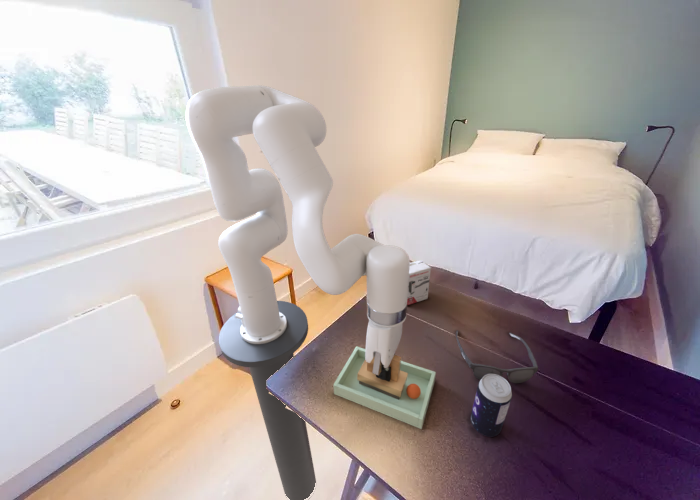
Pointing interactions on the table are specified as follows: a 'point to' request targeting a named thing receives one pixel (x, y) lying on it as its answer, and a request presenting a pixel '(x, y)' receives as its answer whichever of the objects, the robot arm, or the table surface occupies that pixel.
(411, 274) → the ink box
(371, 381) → the brush
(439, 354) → the table surface
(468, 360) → the sunglasses
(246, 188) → the robot arm
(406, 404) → the tray
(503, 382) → the beverage can
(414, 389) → the crumb ball
